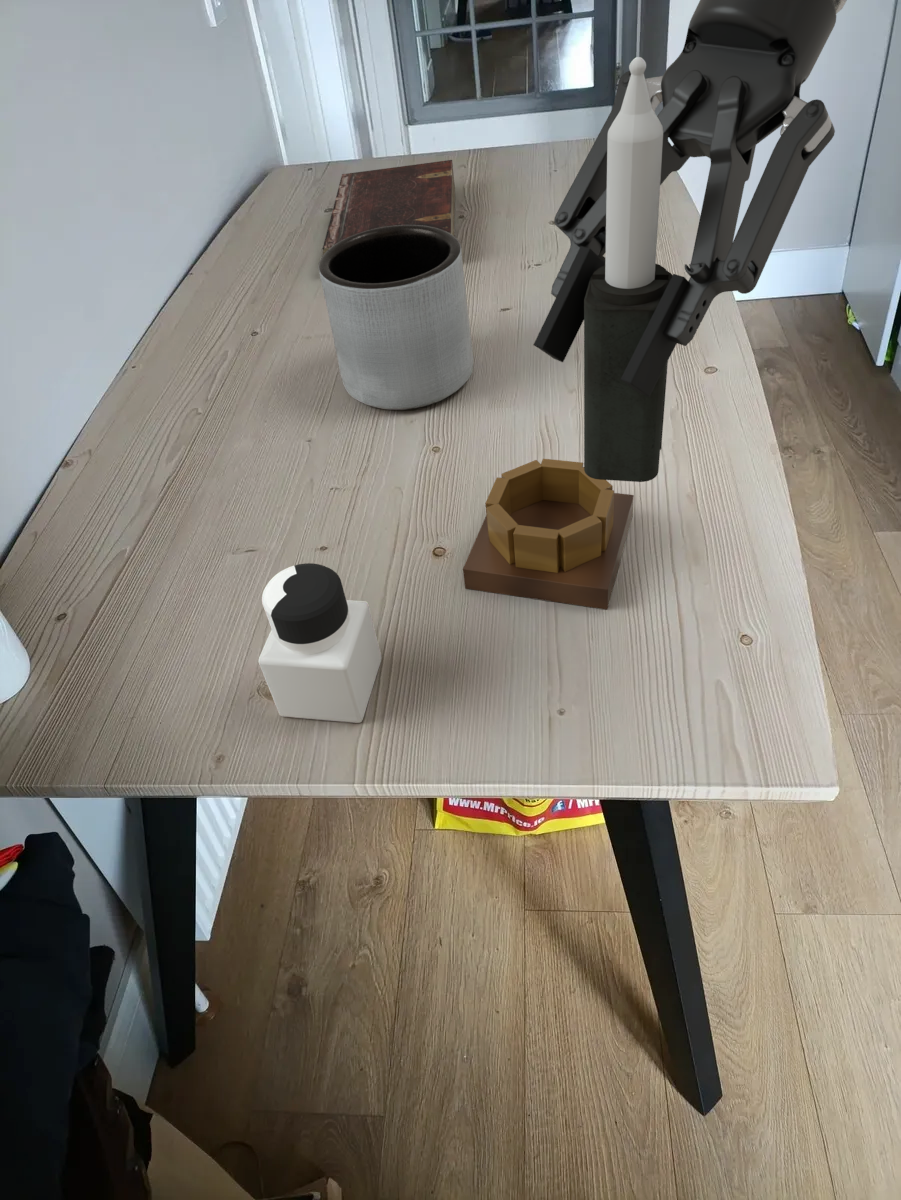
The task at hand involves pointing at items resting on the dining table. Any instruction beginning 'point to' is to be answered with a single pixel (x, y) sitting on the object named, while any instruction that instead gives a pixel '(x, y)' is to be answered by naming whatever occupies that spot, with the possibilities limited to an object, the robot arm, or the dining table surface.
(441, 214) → the hardback book
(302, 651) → the medicine bottle
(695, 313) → the robot arm
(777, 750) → the dining table surface
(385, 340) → the planter
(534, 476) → the stand
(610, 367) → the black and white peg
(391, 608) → the dining table surface
